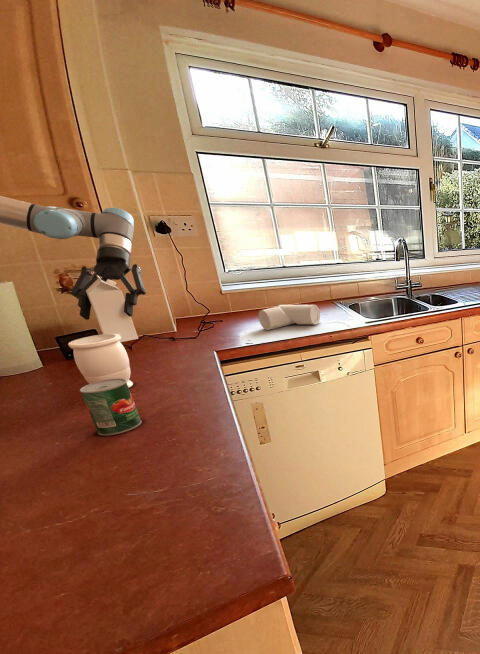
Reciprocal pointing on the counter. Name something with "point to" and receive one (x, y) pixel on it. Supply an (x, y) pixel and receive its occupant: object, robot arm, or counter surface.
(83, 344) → the jar
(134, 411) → the canned tomato
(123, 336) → the milk carton
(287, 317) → the l-shaped cylinder
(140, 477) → the counter surface
